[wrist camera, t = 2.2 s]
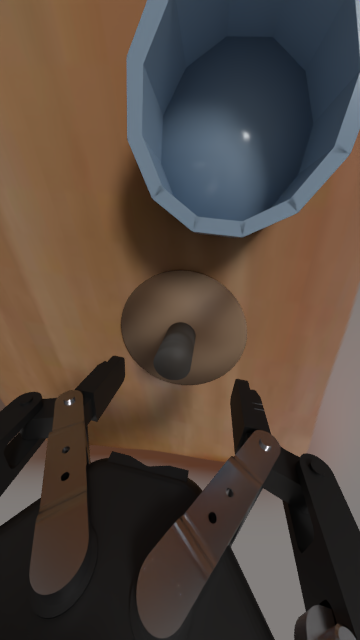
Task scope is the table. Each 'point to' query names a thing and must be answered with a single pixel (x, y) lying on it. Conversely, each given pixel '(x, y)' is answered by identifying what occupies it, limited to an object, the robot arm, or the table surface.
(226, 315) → the lid
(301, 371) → the table surface
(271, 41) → the bowl
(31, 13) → the table surface
